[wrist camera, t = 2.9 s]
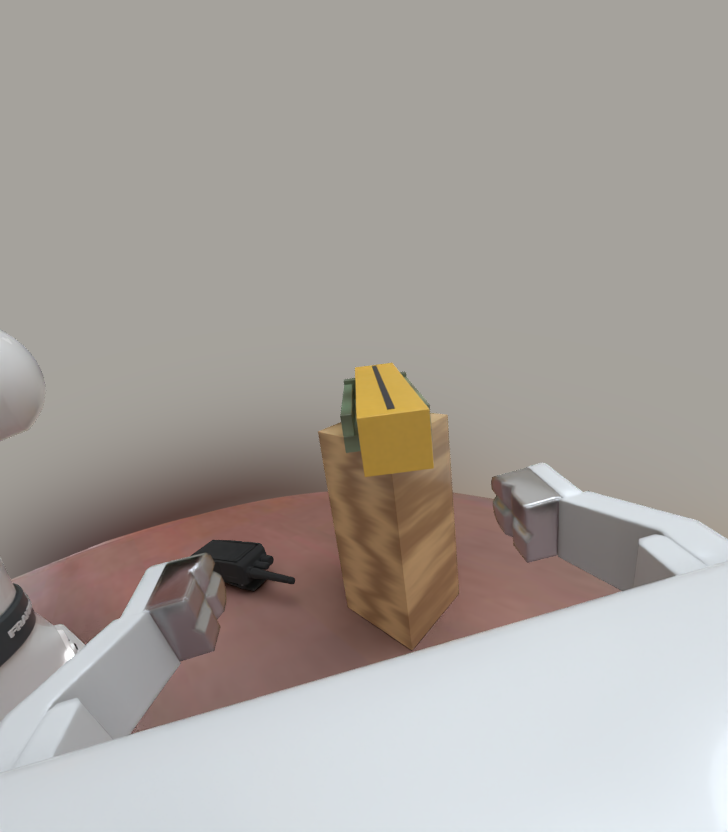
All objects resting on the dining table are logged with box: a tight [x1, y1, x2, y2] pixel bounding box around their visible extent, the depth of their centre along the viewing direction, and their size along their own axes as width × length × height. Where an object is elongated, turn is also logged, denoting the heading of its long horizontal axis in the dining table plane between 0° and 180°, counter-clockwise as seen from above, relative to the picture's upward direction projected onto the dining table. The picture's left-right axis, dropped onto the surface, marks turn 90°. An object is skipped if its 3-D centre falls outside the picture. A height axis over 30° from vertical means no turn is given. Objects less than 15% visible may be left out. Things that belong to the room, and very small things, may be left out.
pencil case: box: [355, 363, 434, 477], centre depth 33 cm, size 22×4×4 cm, turn 2°
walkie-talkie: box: [191, 540, 295, 591], centre depth 51 cm, size 6×6×20 cm
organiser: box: [318, 372, 459, 650], centre depth 41 cm, size 15×14×28 cm
